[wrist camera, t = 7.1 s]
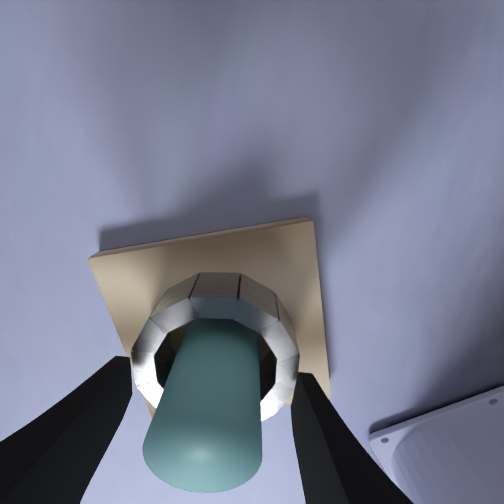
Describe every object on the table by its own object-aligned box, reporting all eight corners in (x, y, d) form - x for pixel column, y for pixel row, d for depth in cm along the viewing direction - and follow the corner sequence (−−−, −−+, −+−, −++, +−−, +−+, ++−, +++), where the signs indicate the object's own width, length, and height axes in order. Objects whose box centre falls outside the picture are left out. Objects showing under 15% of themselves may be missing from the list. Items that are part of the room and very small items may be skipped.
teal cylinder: (234, 295, 14) (222, 394, 8) (271, 350, 15) (283, 470, 9) (170, 327, 14) (117, 439, 9) (210, 378, 16) (186, 505, 10)
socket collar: (248, 246, 13) (247, 267, 11) (313, 358, 15) (325, 395, 13) (123, 312, 14) (97, 343, 12) (200, 406, 16) (191, 448, 14)
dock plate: (98, 251, 14) (87, 258, 13) (309, 216, 13) (313, 220, 12) (158, 407, 18) (153, 421, 17) (326, 385, 17) (331, 398, 16)
